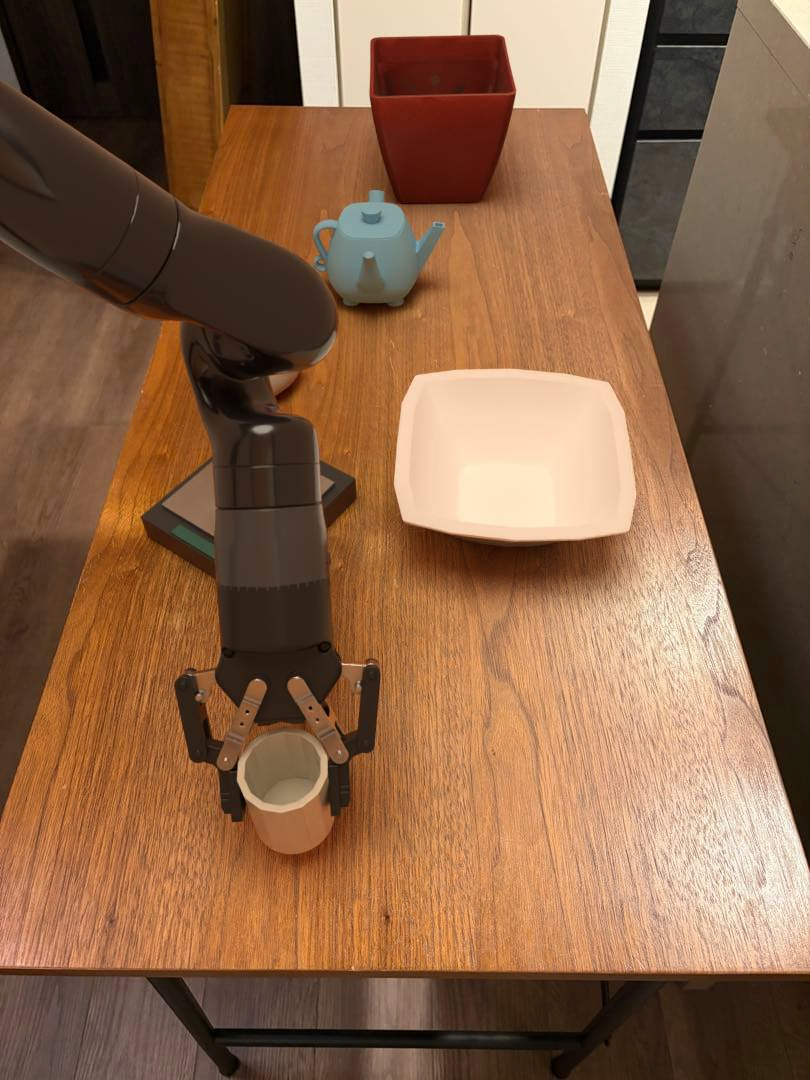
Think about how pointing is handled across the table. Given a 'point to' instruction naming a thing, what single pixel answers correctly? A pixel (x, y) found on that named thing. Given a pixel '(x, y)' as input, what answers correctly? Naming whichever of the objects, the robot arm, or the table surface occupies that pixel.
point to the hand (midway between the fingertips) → (288, 813)
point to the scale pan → (206, 500)
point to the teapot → (373, 252)
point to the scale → (201, 546)
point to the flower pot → (440, 113)
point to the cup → (287, 789)
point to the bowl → (514, 457)
